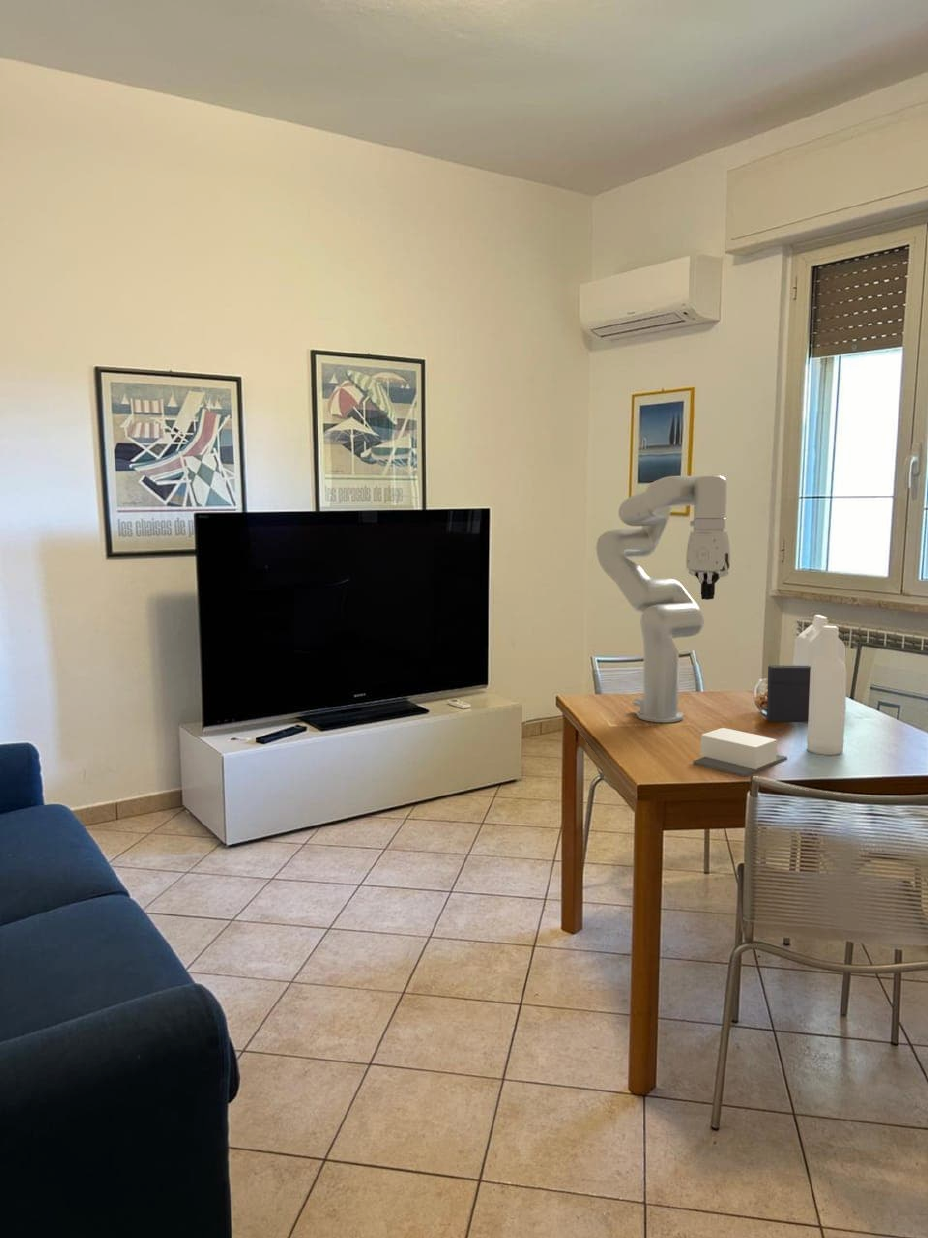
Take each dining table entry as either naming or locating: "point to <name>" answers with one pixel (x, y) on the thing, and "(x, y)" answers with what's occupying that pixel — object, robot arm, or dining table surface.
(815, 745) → the bottle
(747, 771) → the mat
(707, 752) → the flip block
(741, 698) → the dining table surface
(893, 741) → the dining table surface
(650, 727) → the dining table surface
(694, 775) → the dining table surface
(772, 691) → the dark grey box
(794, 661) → the milk
